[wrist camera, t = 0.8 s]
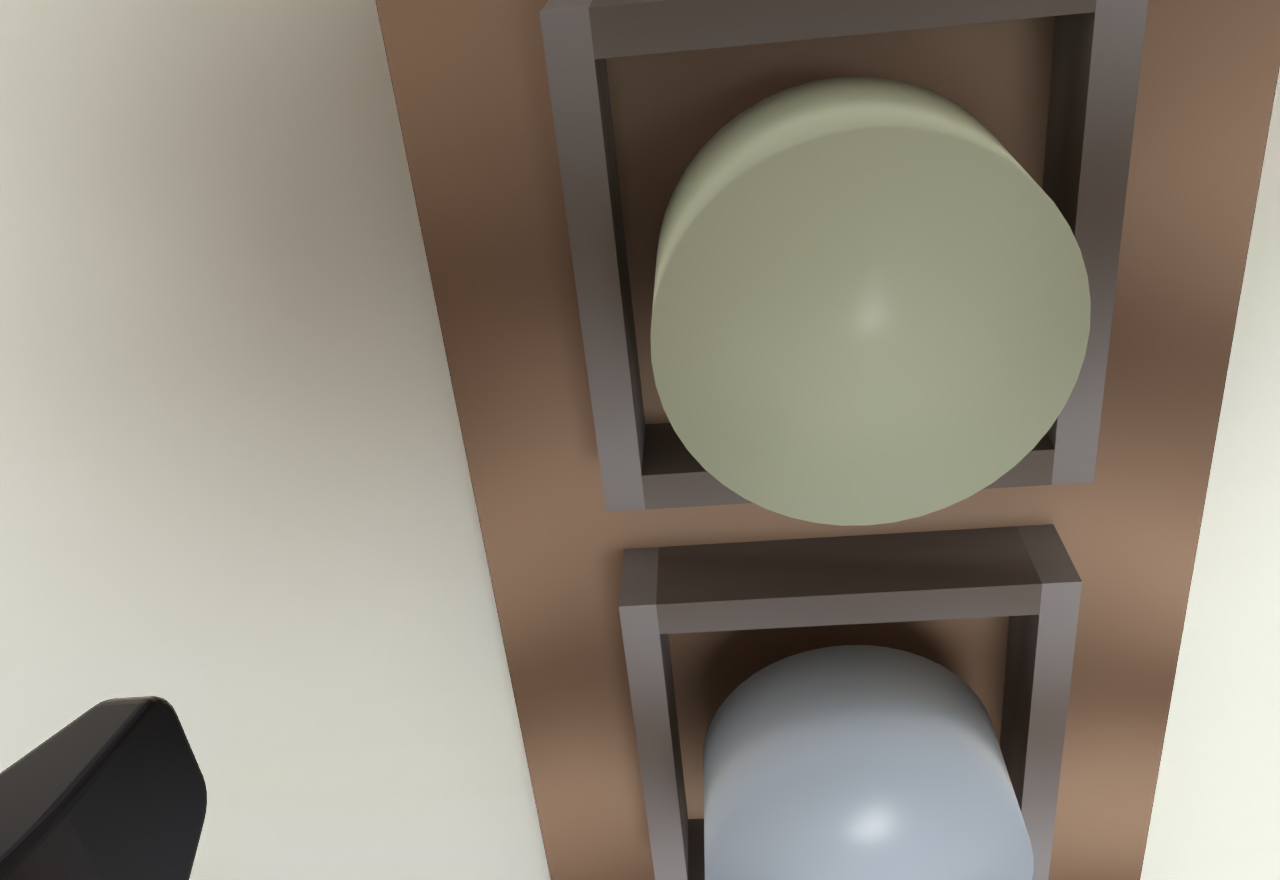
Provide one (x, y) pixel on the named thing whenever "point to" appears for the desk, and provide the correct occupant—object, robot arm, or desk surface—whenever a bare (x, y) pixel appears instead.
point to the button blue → (858, 775)
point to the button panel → (792, 548)
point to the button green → (863, 304)
